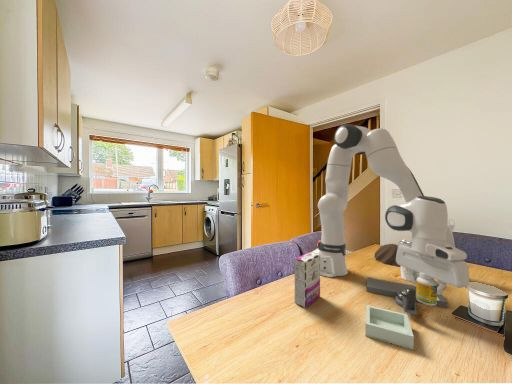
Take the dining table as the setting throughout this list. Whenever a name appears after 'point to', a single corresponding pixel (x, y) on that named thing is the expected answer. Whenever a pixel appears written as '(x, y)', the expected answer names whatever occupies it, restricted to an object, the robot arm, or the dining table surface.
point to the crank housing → (396, 290)
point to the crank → (408, 300)
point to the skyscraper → (450, 233)
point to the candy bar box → (307, 278)
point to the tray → (389, 326)
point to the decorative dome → (387, 254)
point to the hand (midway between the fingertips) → (426, 288)
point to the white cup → (406, 274)
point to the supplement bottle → (426, 290)
